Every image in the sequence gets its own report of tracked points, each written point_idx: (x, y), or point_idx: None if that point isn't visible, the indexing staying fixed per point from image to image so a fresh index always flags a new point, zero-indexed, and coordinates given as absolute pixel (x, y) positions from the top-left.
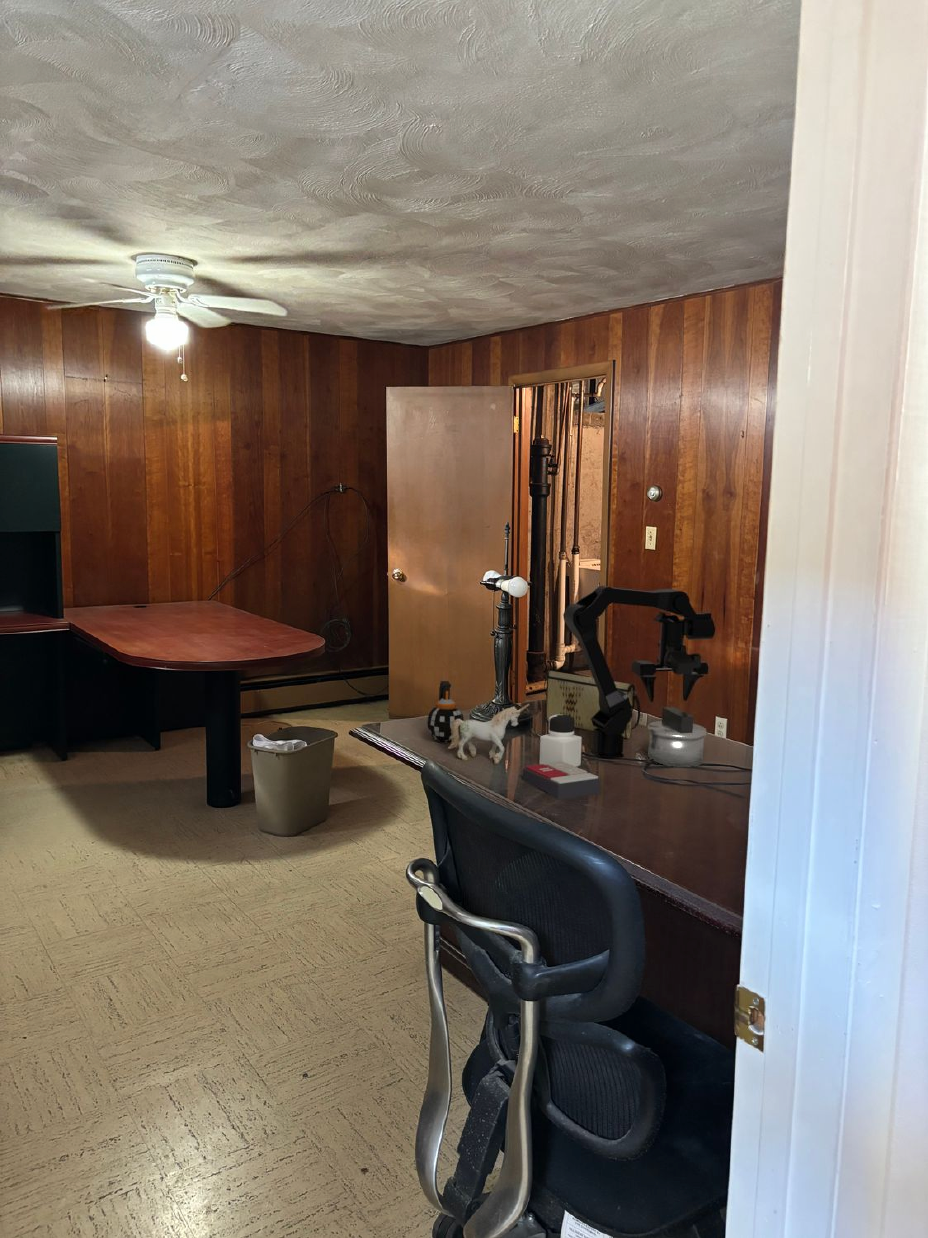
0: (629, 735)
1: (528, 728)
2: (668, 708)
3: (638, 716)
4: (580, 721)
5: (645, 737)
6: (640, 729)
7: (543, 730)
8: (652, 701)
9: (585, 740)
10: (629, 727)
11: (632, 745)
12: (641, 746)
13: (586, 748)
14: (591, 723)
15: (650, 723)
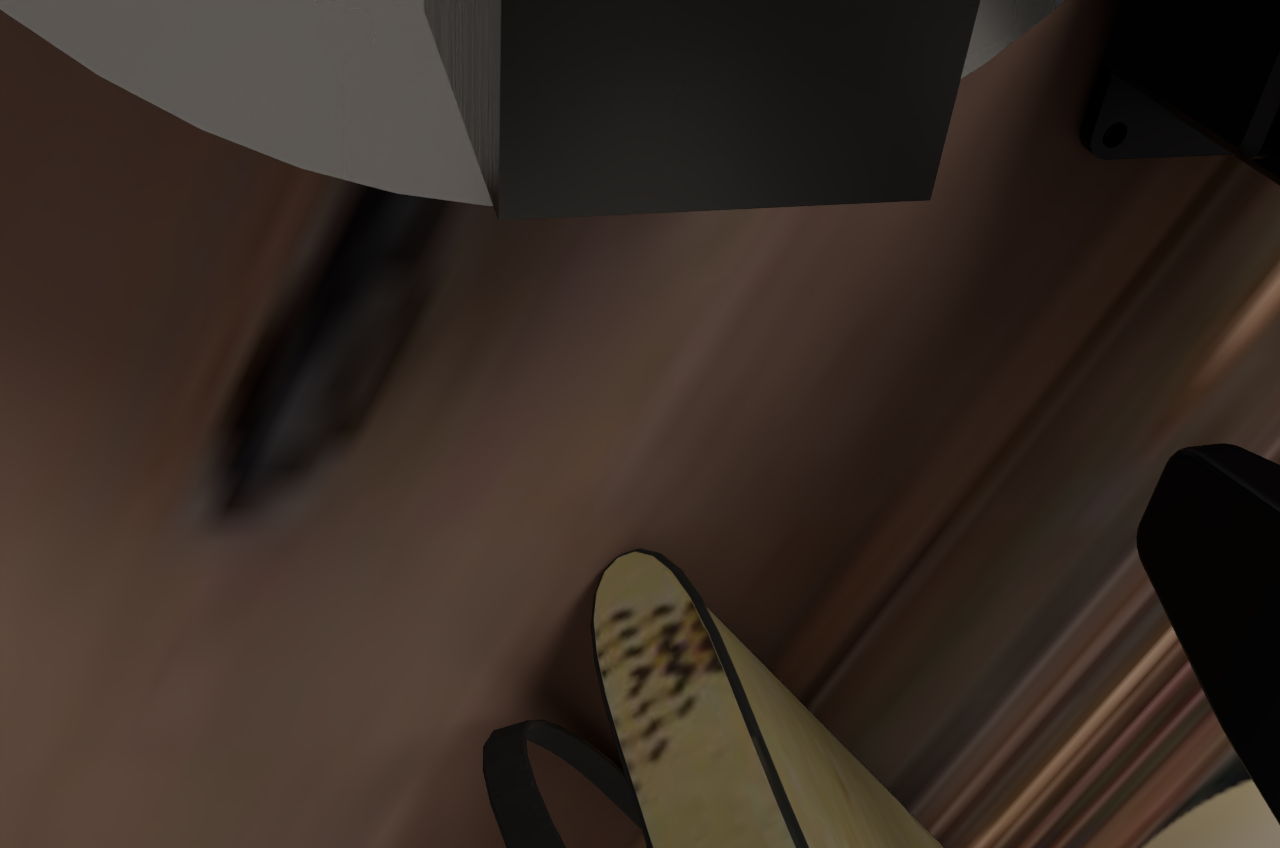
0: (605, 593)
1: (1227, 778)
2: (842, 13)
3: (533, 817)
4: (934, 845)
5: (377, 607)
6: (298, 843)
7: (1171, 746)
8: (1224, 444)
9: (1073, 508)
10: (637, 665)
11: (716, 319)
12: (626, 270)
13: (1275, 250)
14: (889, 800)
15: (1027, 11)
